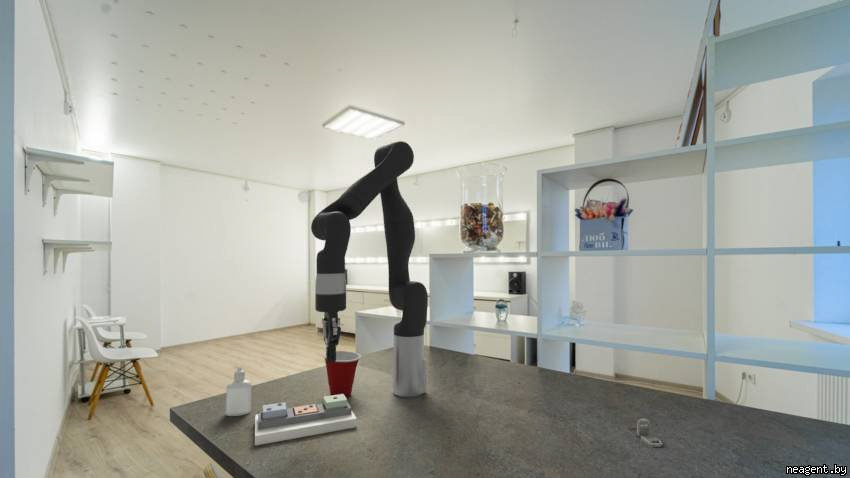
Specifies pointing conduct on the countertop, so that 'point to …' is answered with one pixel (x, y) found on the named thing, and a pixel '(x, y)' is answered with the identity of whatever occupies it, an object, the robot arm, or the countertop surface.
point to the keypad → (303, 423)
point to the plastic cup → (342, 372)
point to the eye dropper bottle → (238, 395)
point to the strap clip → (645, 434)
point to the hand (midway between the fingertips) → (331, 361)
